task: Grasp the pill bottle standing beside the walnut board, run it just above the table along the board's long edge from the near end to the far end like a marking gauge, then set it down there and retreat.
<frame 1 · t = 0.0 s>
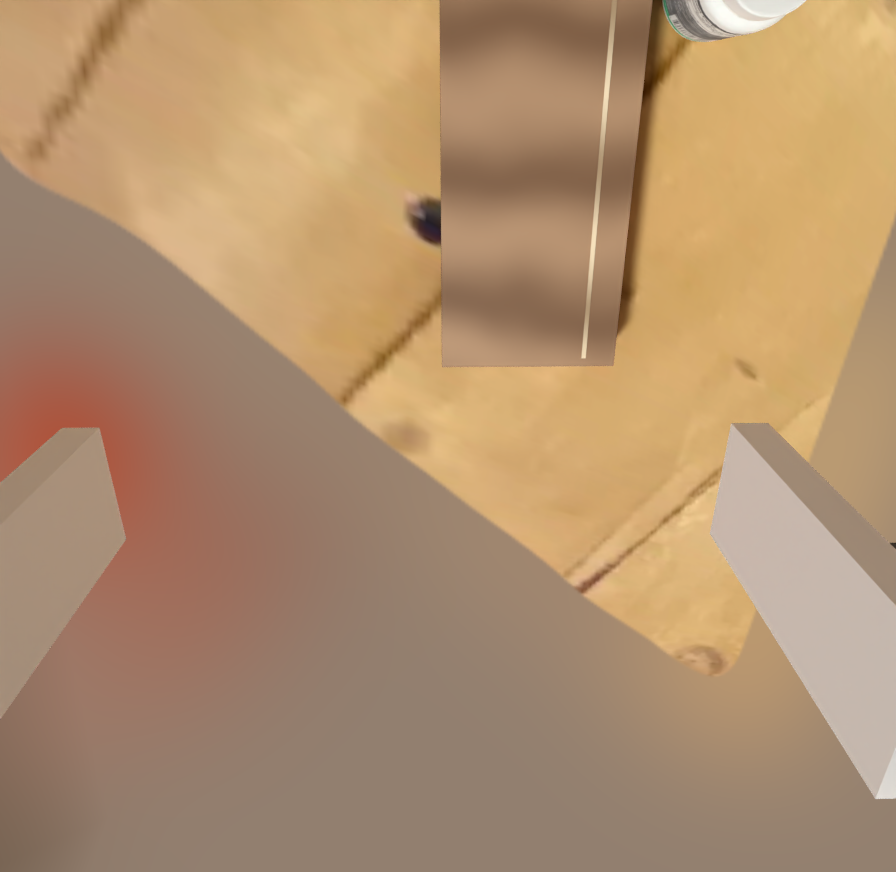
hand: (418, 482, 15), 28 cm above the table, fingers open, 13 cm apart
board: (532, 160, 38), on the table
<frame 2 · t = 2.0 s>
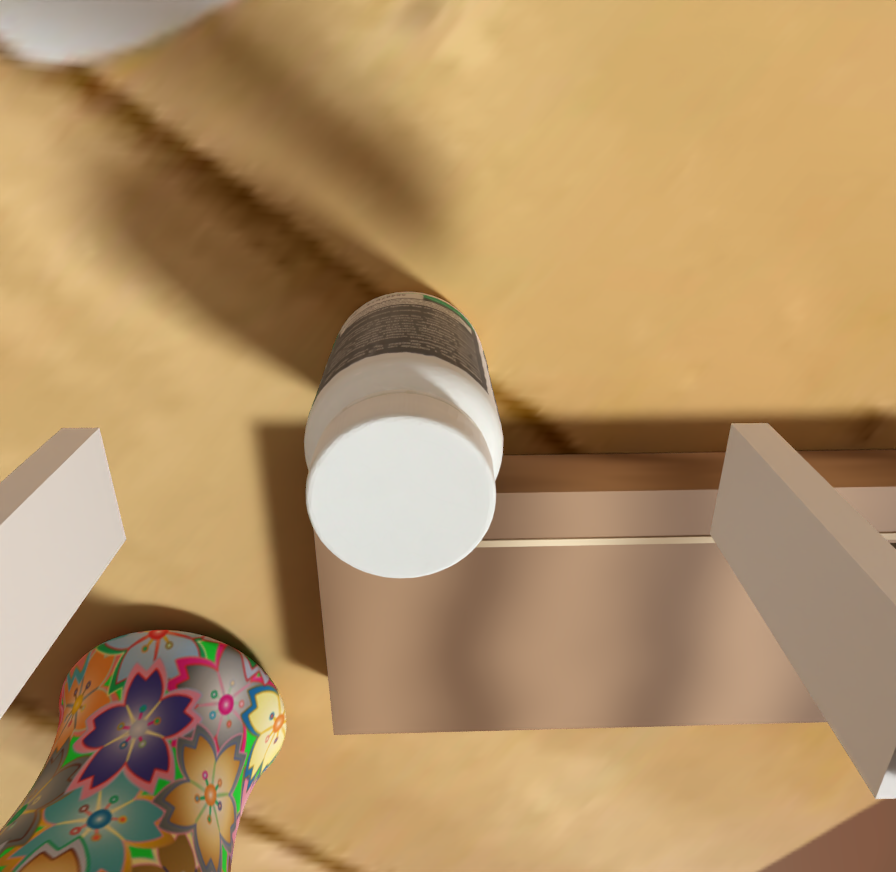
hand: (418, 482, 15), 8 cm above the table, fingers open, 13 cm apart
pill bottle: (408, 360, 22), on the table
mug: (197, 719, 29), on the table
board: (631, 574, 26), on the table
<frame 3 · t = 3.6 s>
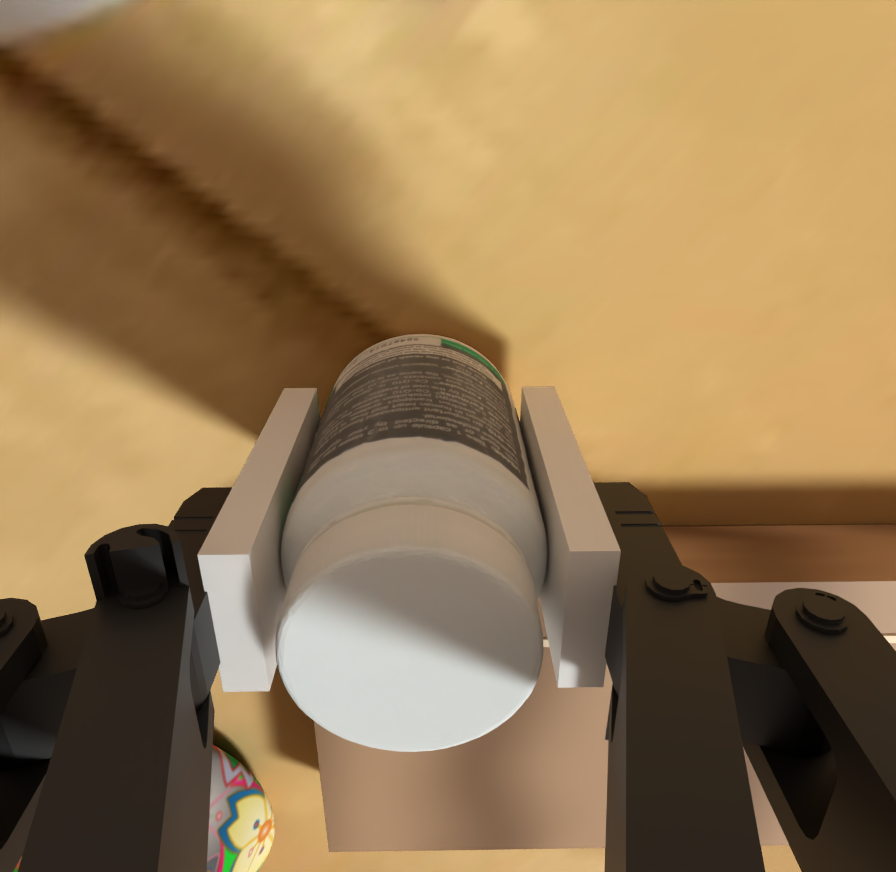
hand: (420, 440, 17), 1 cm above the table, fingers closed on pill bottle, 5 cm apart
pill bottle: (422, 415, 18), on the table, touching gripper
mug: (172, 815, 25), on the table
board: (686, 663, 22), on the table
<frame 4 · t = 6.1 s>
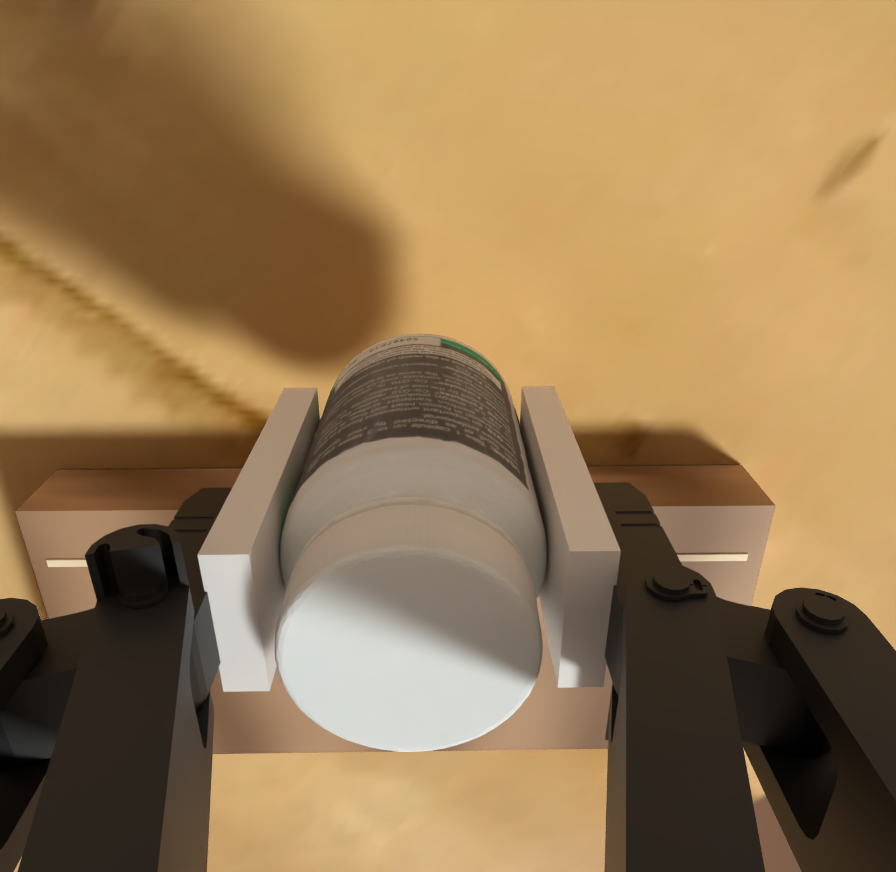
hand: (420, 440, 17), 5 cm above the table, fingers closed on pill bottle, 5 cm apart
pill bottle: (421, 415, 18), point 3 cm above the table, touching gripper
board: (405, 592, 25), on the table
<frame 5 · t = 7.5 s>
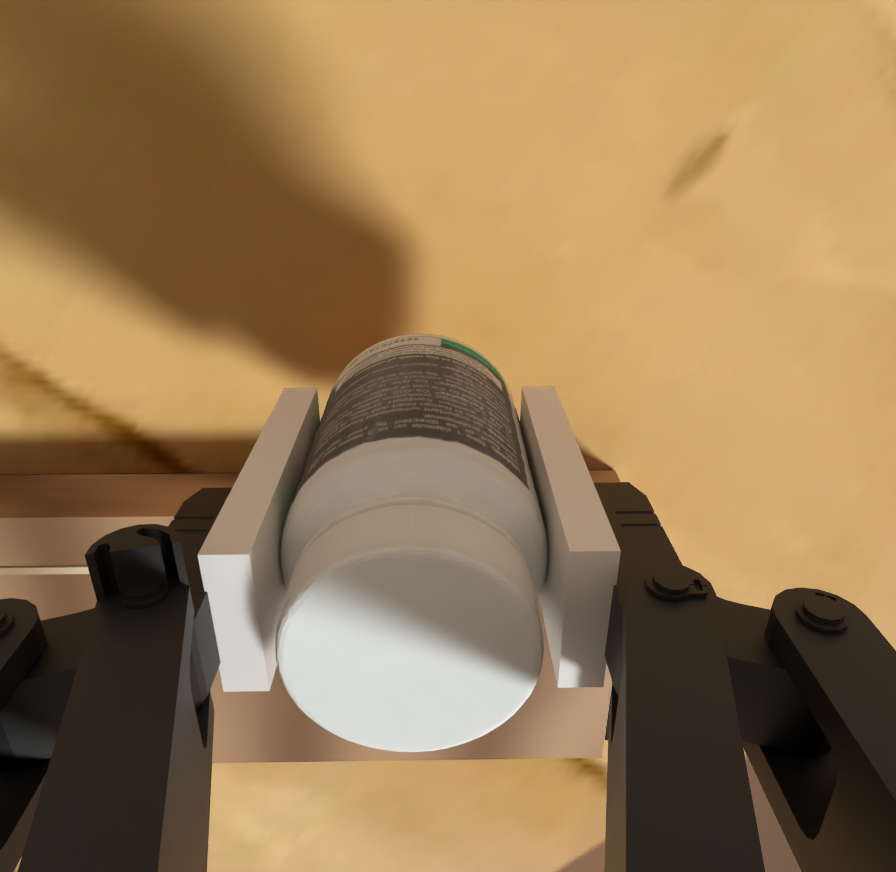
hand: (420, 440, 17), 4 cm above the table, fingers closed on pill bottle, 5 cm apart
pill bottle: (422, 415, 18), point 3 cm above the table, touching gripper
board: (283, 599, 24), on the table
when the fingers open (2 cm above the table, at t = 8.7 s): pill bottle stays where it is, on the table.
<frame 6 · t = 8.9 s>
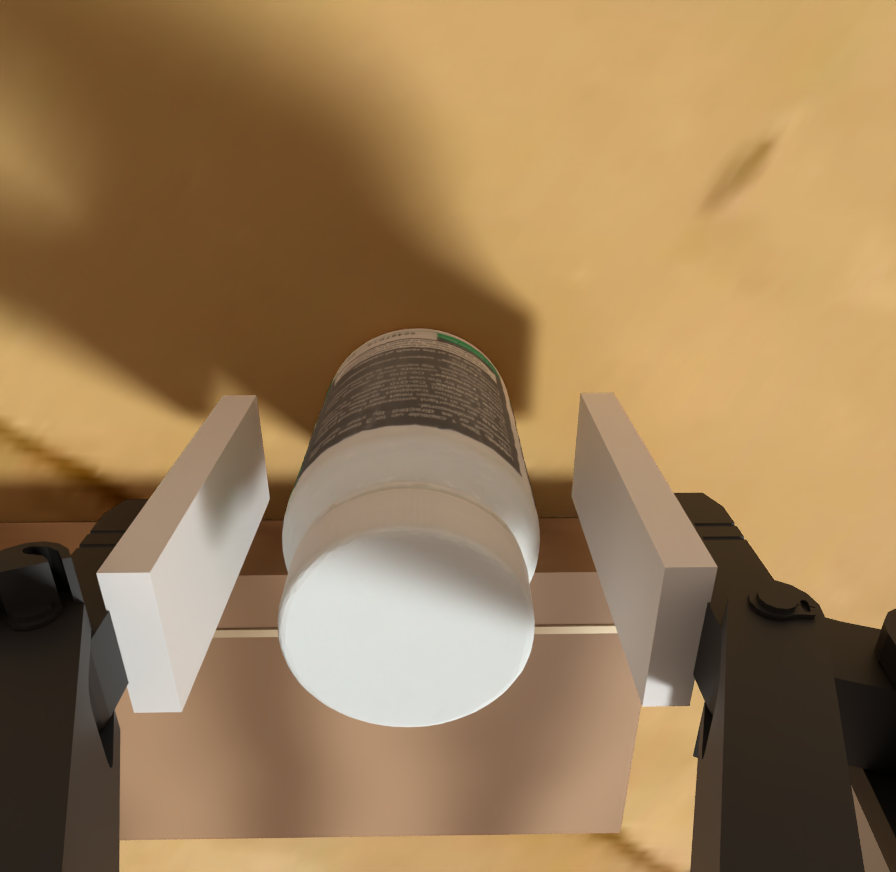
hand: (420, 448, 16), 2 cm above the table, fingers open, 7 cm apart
pill bottle: (419, 408, 18), on the table
board: (265, 656, 22), on the table
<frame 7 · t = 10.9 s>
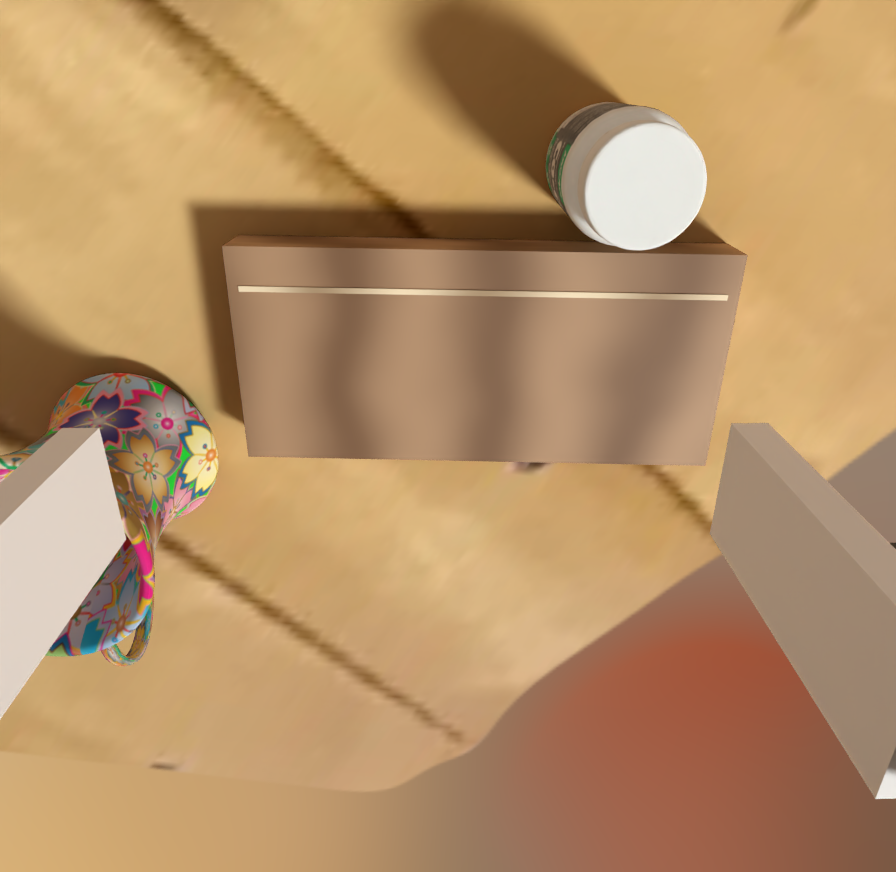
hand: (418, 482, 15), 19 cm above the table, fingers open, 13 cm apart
pill bottle: (598, 162, 30), on the table
mug: (154, 463, 37), on the table
board: (478, 345, 34), on the table
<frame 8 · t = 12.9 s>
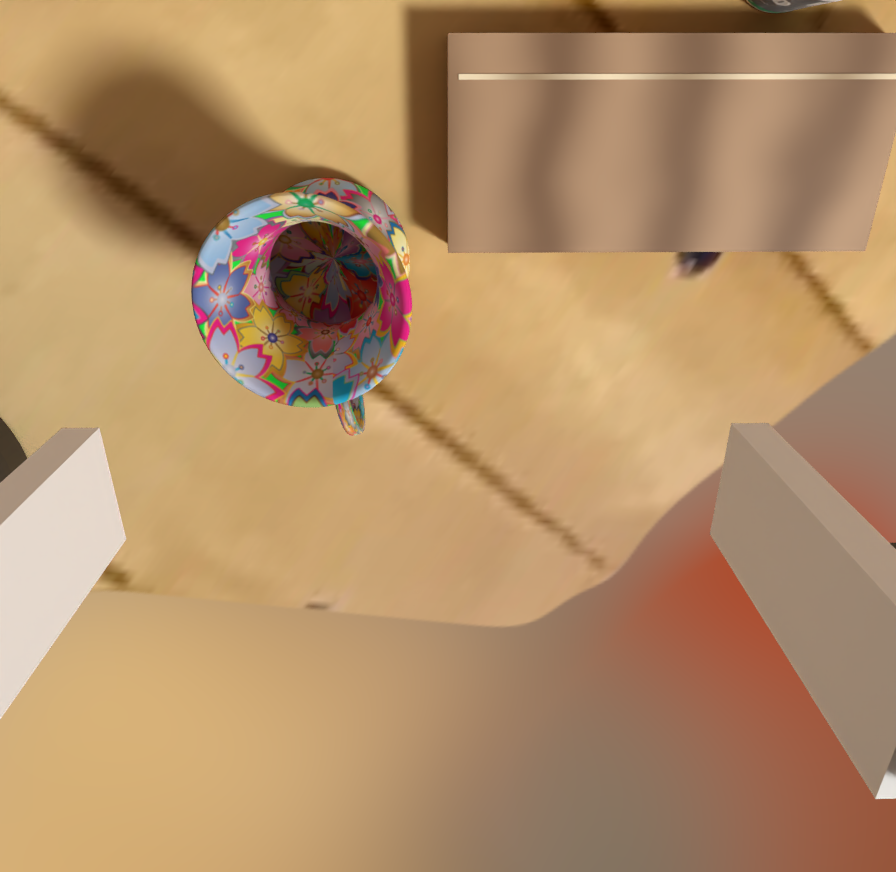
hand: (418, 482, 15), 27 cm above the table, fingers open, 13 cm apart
mug: (342, 279, 40), on the table
board: (656, 146, 37), on the table
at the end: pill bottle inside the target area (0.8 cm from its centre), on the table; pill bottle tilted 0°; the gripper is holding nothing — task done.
